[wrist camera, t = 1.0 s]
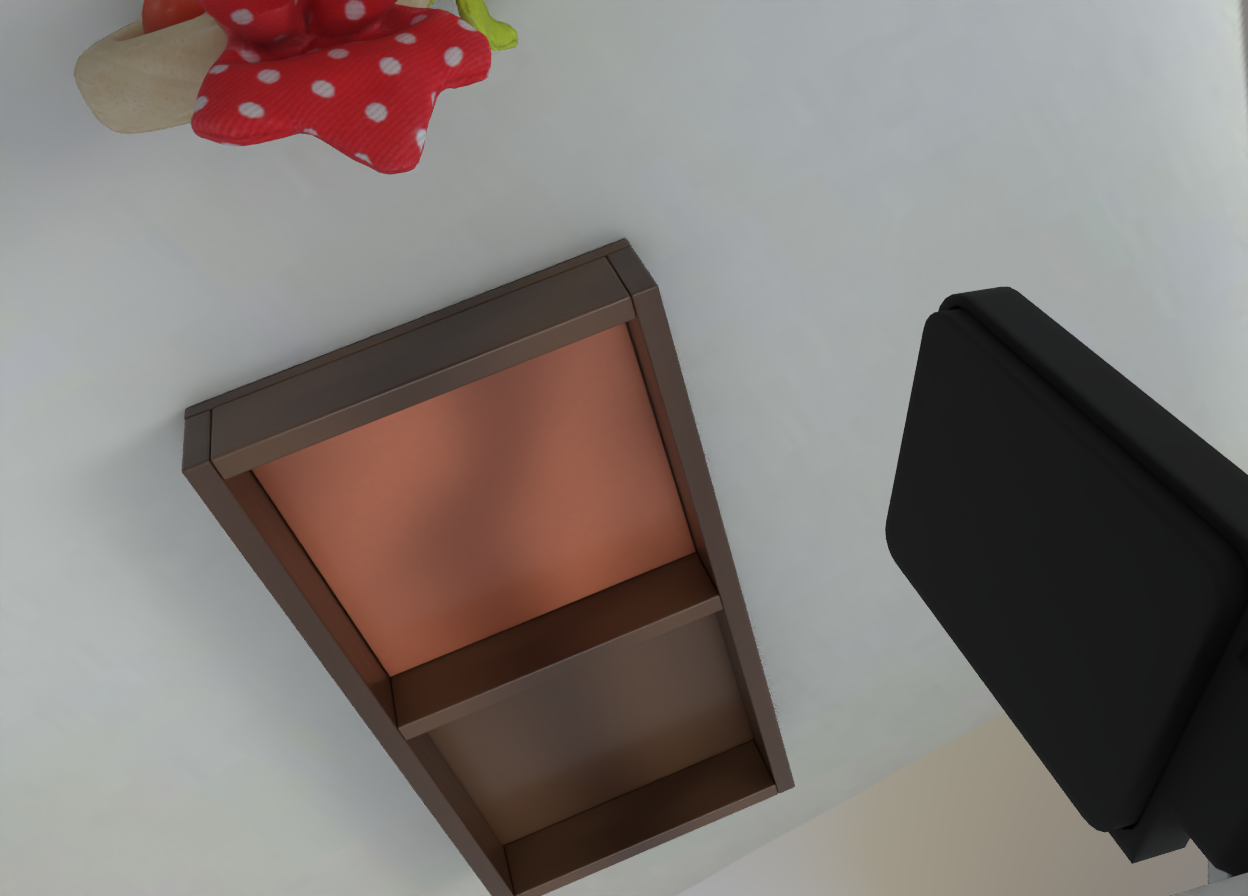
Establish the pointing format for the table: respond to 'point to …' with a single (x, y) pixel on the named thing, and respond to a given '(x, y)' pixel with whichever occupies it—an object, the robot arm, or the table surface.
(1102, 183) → the table surface
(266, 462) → the wooden divided tray
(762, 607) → the table surface
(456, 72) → the bird rattle
